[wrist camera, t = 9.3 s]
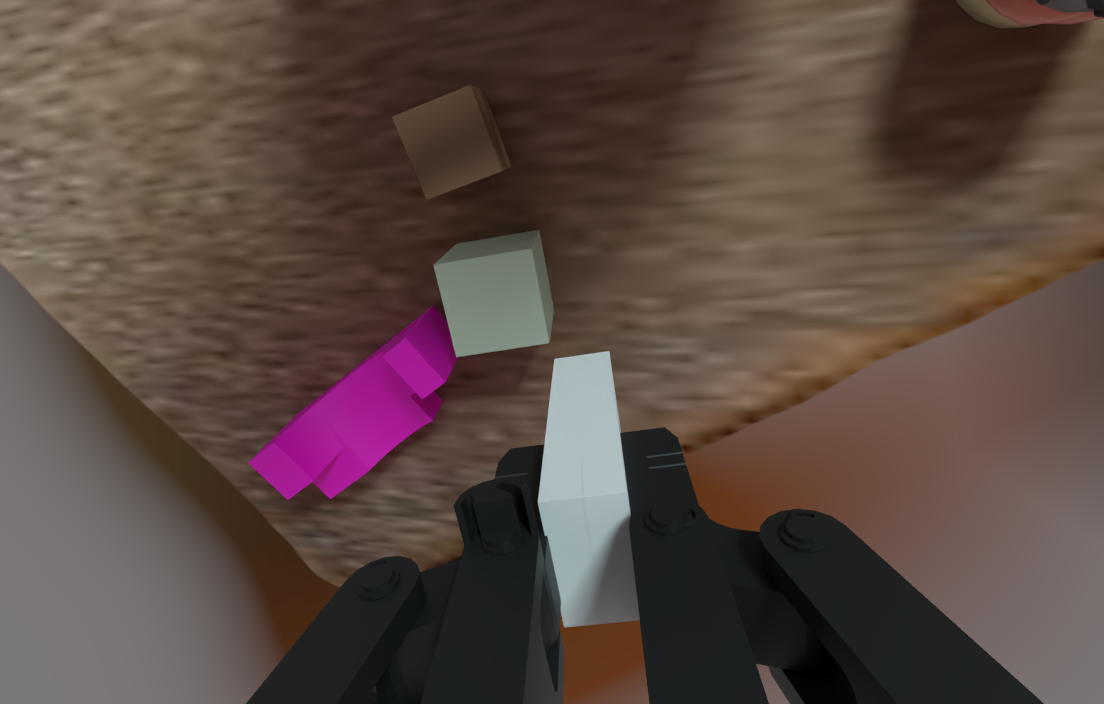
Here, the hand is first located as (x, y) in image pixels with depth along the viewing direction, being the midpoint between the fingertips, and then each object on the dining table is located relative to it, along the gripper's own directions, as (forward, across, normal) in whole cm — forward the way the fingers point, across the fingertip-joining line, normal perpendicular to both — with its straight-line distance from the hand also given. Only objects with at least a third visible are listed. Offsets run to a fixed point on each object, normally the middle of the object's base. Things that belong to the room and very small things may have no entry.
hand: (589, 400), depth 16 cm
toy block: (+27, -17, -10) cm, 33 cm away
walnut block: (+27, -7, +8) cm, 28 cm away
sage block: (+27, -6, -2) cm, 27 cm away
